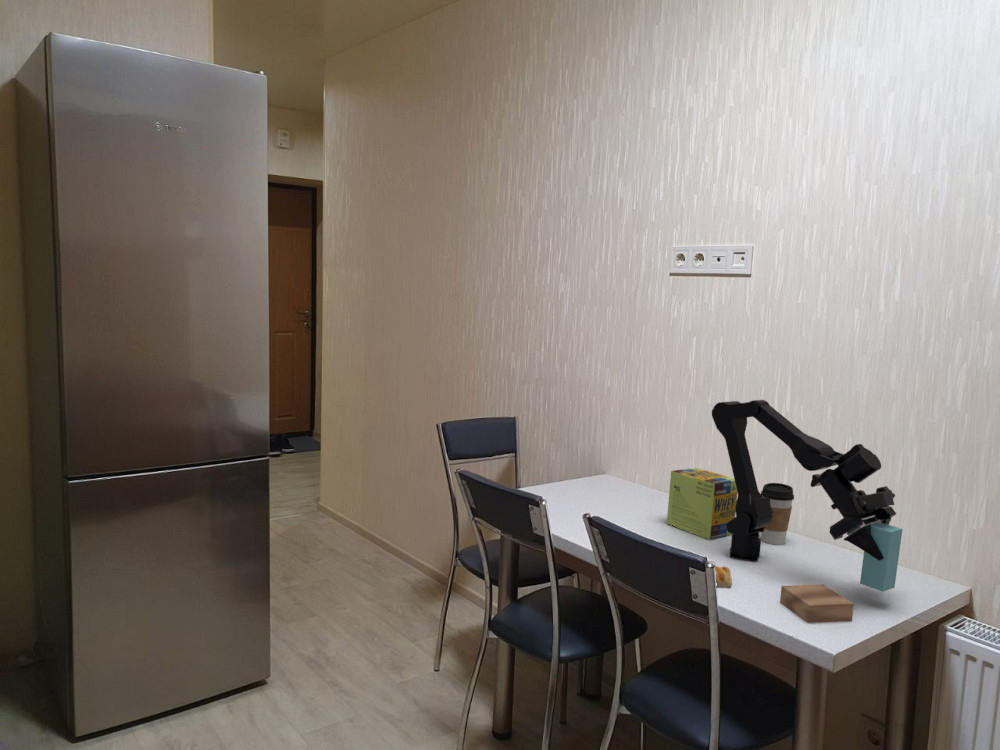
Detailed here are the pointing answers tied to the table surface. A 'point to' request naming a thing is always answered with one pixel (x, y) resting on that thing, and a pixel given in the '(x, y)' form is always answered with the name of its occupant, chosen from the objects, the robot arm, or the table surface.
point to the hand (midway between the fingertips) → (887, 557)
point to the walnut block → (816, 603)
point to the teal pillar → (885, 570)
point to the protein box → (701, 502)
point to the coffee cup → (778, 512)
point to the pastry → (723, 576)
